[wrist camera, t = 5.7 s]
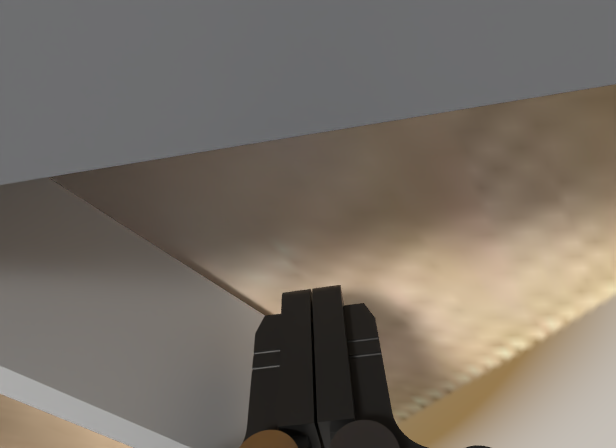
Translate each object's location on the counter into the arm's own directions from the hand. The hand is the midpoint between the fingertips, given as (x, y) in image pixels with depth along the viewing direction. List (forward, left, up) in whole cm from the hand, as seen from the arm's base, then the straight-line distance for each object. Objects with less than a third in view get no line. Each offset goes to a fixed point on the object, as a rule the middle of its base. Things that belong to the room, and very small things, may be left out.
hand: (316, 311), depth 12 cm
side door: (+5, -1, -2) cm, 5 cm away
